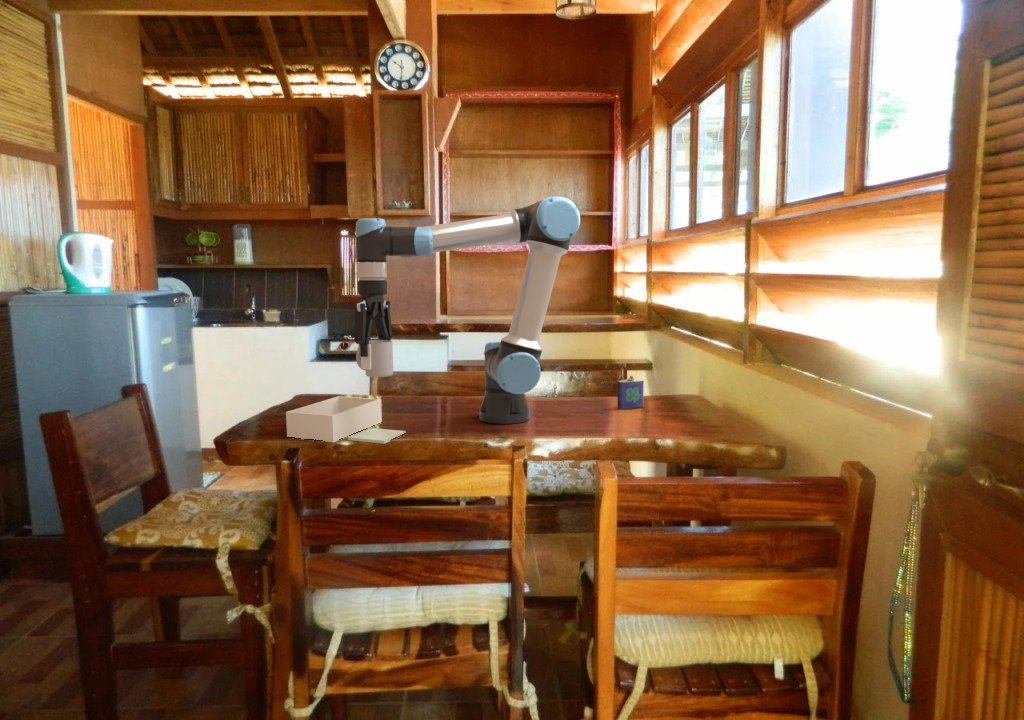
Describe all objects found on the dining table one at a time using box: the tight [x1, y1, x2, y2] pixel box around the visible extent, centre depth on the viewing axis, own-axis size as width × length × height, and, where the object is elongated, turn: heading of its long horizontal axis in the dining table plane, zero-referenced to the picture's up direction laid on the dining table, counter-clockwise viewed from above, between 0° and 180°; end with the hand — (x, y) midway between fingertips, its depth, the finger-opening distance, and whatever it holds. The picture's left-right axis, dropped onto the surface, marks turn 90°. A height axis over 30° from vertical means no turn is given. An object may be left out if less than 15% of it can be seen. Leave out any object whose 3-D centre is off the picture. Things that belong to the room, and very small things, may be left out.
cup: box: [355, 339, 394, 378], centre depth 179 cm, size 7×10×9 cm
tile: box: [347, 427, 407, 445], centre depth 182 cm, size 11×11×1 cm
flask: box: [617, 374, 645, 411], centre depth 216 cm, size 9×3×11 cm, turn 112°
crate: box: [285, 395, 383, 443], centre depth 190 cm, size 15×24×7 cm, turn 159°
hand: (374, 366), depth 180 cm, fingers closed on cup, 7 cm apart
